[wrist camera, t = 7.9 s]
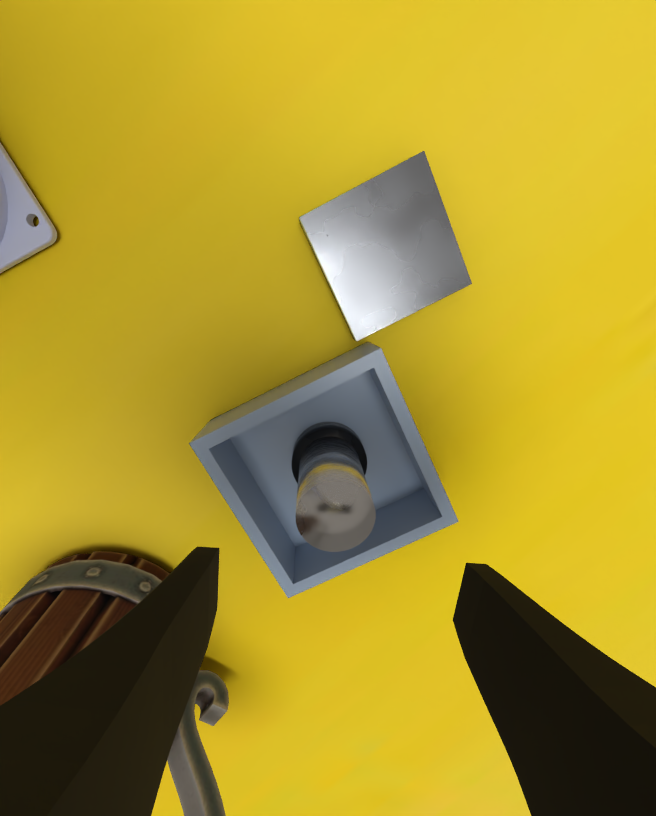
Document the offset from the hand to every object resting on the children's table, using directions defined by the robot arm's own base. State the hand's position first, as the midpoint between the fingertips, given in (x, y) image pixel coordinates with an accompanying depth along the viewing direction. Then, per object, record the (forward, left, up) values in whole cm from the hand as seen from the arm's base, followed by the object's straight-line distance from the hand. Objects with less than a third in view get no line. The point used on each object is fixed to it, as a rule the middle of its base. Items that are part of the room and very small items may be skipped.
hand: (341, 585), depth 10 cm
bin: (0, 0, -10) cm, 10 cm away
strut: (0, 0, -9) cm, 9 cm away
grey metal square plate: (-8, +7, -10) cm, 14 cm away
